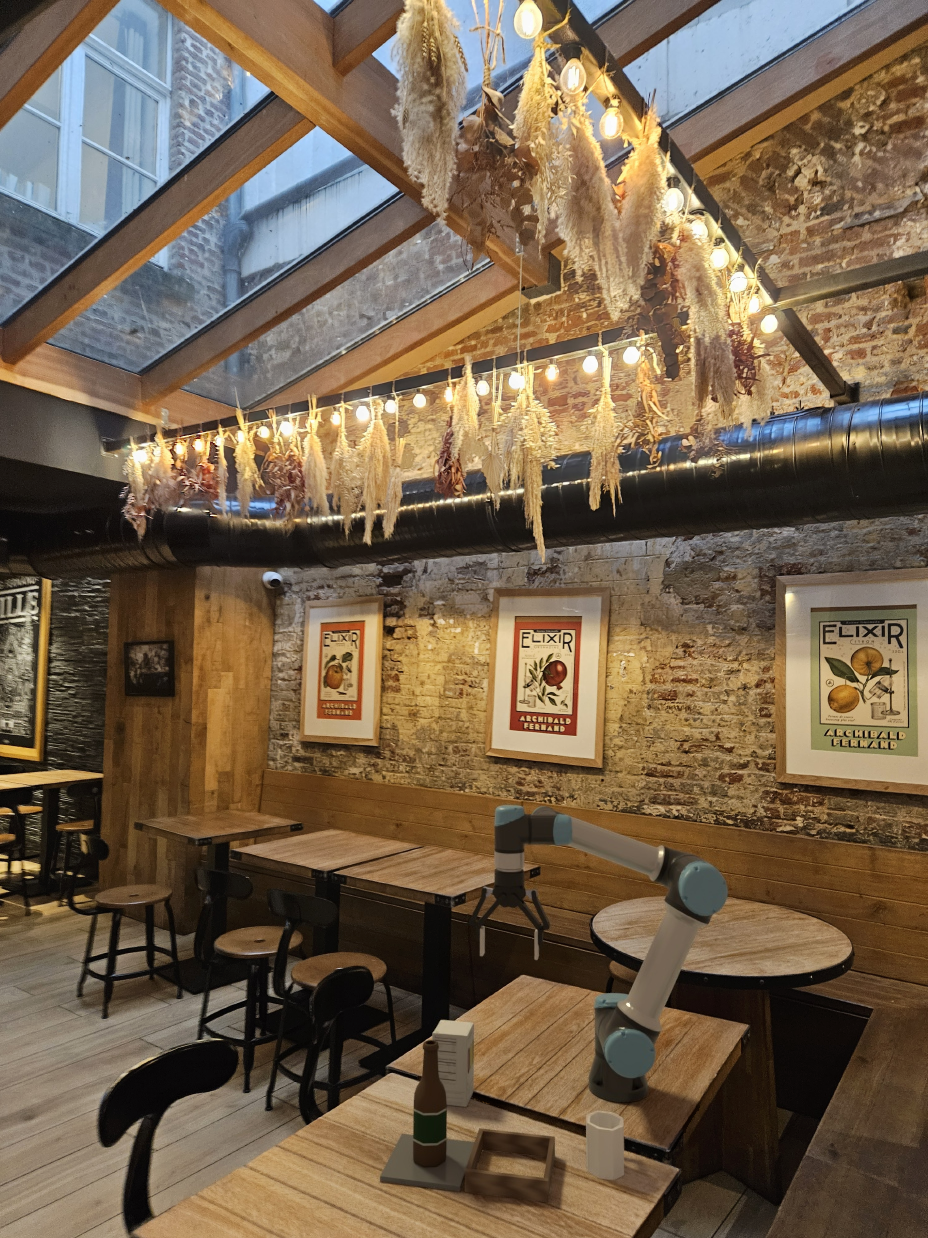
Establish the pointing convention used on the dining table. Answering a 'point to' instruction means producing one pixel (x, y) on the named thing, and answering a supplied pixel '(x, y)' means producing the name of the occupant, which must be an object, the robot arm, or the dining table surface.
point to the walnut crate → (507, 1182)
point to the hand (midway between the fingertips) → (509, 956)
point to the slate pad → (438, 1177)
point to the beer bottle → (430, 1112)
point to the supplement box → (456, 1060)
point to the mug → (605, 1145)
